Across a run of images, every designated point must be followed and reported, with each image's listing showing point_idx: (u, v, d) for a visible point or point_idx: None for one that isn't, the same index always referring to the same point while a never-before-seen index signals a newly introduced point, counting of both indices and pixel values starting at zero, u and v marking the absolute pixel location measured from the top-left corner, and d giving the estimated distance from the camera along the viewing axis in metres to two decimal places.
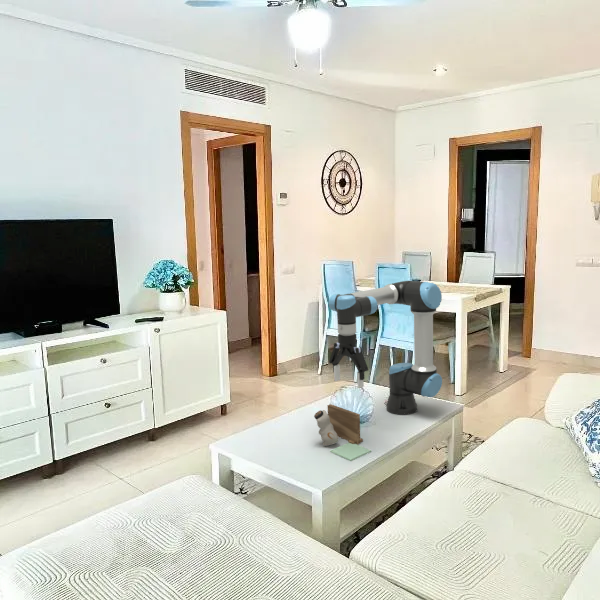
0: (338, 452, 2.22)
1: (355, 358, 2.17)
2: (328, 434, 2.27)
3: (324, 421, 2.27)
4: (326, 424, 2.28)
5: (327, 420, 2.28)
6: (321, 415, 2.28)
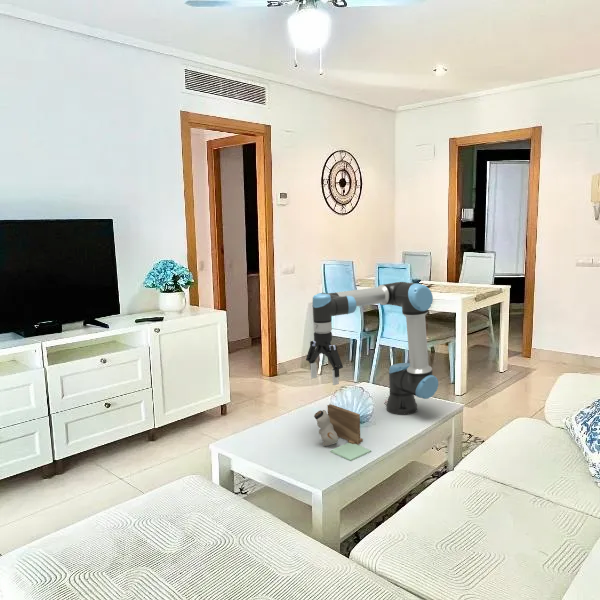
0: (338, 452, 2.22)
1: (330, 356, 2.21)
2: (328, 434, 2.27)
3: (324, 421, 2.27)
4: (326, 424, 2.28)
5: (327, 420, 2.28)
6: (321, 415, 2.28)
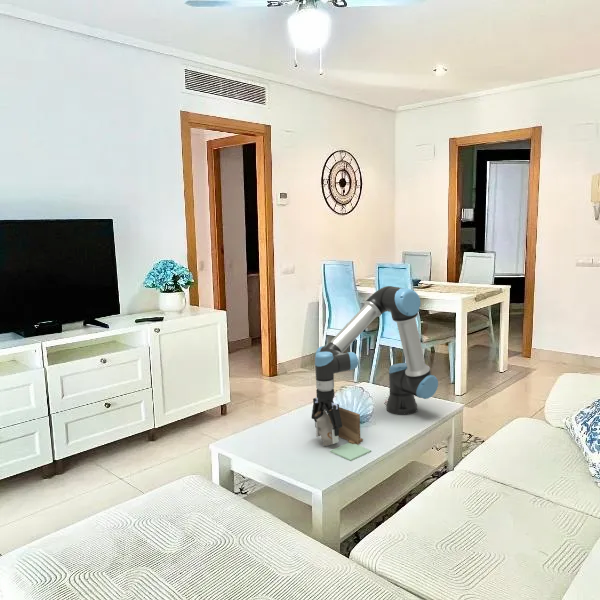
0: (338, 452, 2.22)
1: (332, 414, 2.25)
2: (327, 434, 2.27)
3: (324, 421, 2.27)
4: (326, 424, 2.28)
5: (327, 420, 2.28)
6: (321, 415, 2.28)
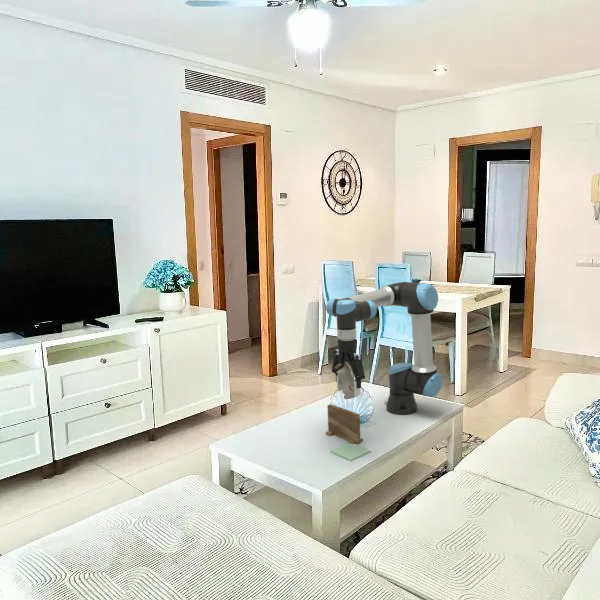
0: (338, 452, 2.22)
1: (354, 365, 2.14)
2: (349, 386, 2.16)
3: (345, 373, 2.16)
4: (347, 376, 2.17)
5: (348, 372, 2.17)
6: (342, 367, 2.17)
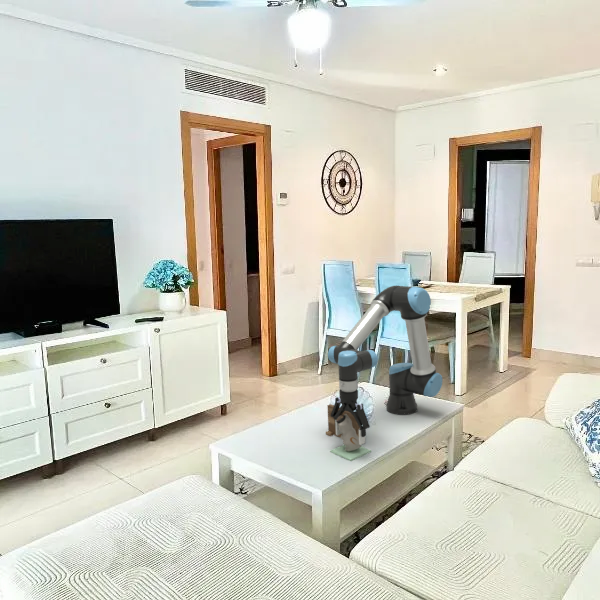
0: (338, 452, 2.22)
1: (357, 414, 2.17)
2: (350, 439, 2.20)
3: (346, 426, 2.20)
4: (349, 428, 2.21)
5: (350, 424, 2.21)
6: (343, 419, 2.20)
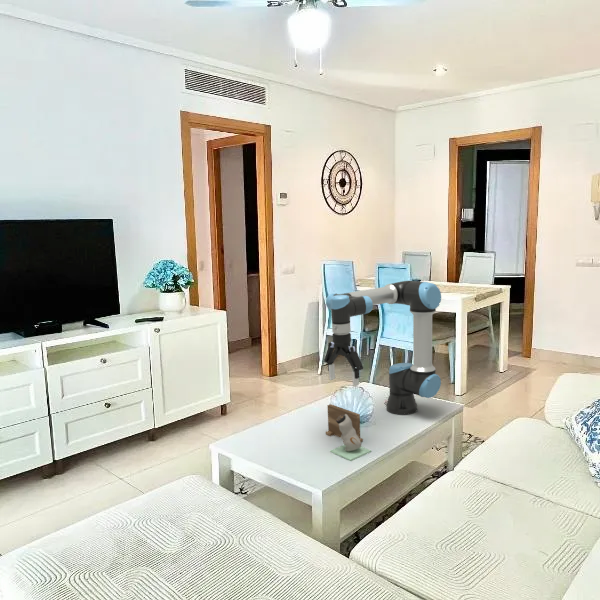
0: (338, 452, 2.22)
1: (350, 357, 2.19)
2: (350, 439, 2.20)
3: (346, 426, 2.20)
4: (349, 428, 2.21)
5: (350, 425, 2.21)
6: (343, 419, 2.20)
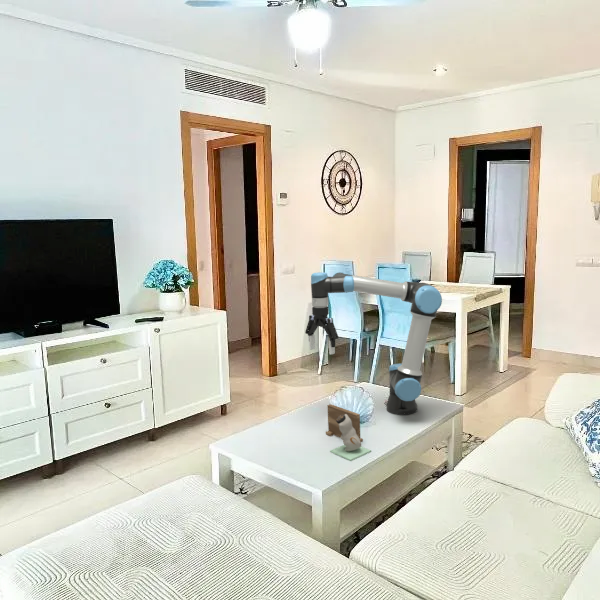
0: (338, 452, 2.22)
1: (327, 328, 2.44)
2: (350, 439, 2.20)
3: (346, 426, 2.20)
4: (349, 428, 2.21)
5: (350, 425, 2.21)
6: (343, 419, 2.20)
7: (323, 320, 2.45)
